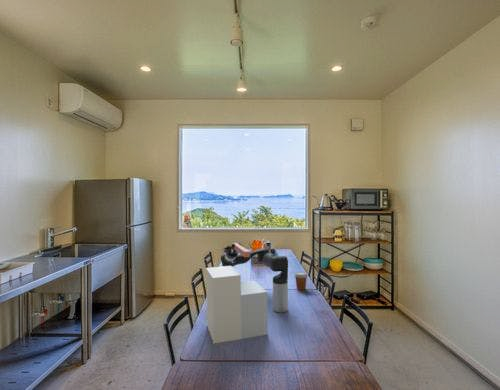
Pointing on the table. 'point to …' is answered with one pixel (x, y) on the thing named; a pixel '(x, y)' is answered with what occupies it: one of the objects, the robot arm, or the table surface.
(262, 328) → the riser
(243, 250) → the rod
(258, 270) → the table surface
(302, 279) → the disposable coffee cup
